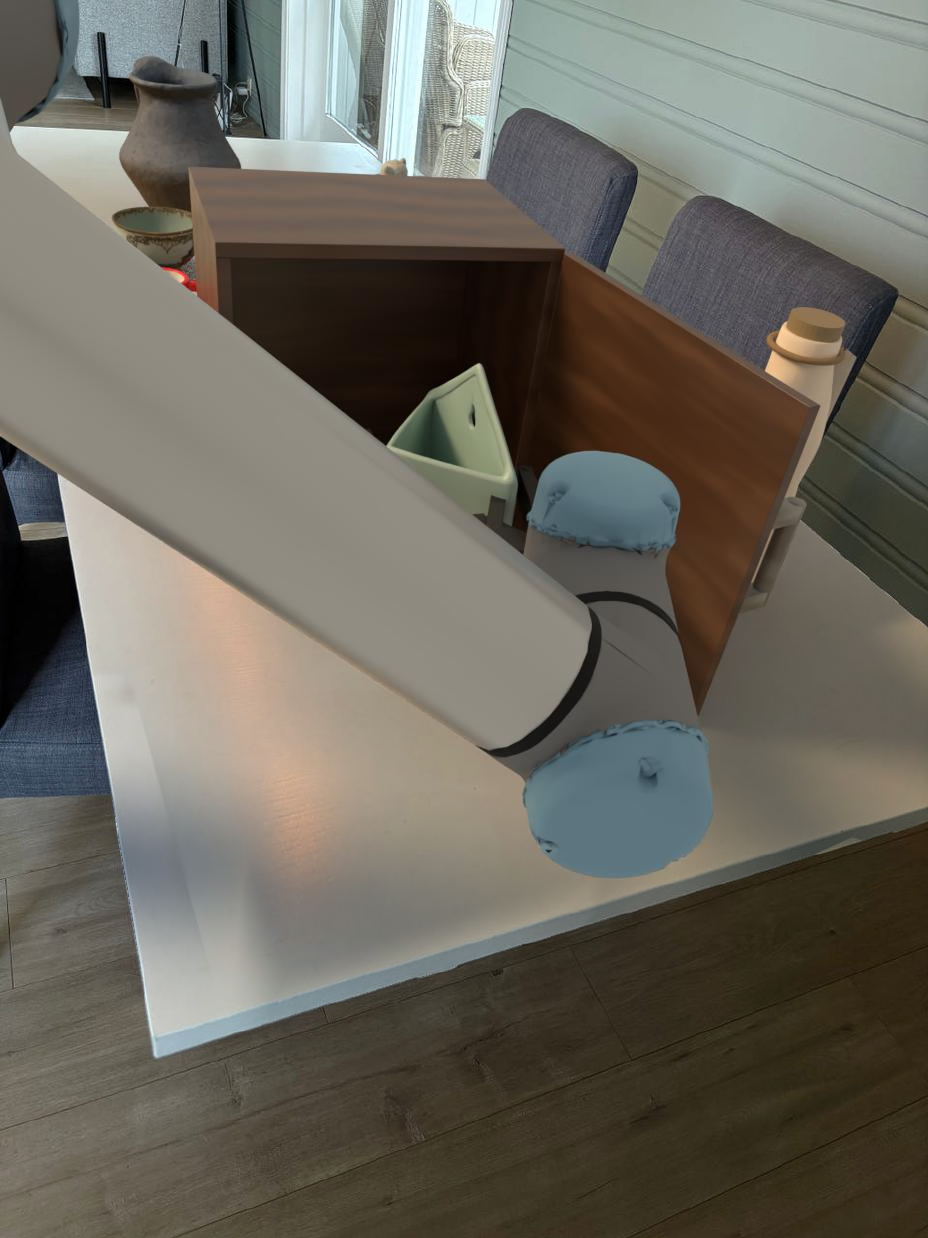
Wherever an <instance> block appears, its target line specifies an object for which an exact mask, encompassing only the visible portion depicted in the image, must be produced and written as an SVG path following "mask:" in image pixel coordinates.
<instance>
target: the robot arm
mask: <svg viewBox="0 0 928 1238" xmlns="http://www.w3.org/2000/svg"><path fill="white" fill-rule="evenodd" d="M79 38H80V3H79V0H0V437H1V438H2V439H3V440H5V441H7V442H8V443H9V444H12V445H13V446H15V447H16V448H17V449H19V450H20V451H22V452H24V454H27V455H28V456H29V457H31V458H32V459H35V460H36V461H37V462H39V463H40V464H42V465H43V466H45V467H46V468H48V469H50V470H51V471H53V472H54V473H56V474H57V475H59V476H61V477H62V478H64V479H65V480H66V481H68V482H70V483H71V484H73V485H74V486H76V487H77V488H79V489H80V490H82V491H84V492H85V493H87V494H88V495H90V496H91V497H93V498H94V499H96V500H97V501H99V502H100V503H102V504H103V505H105V506H106V507H108V508H110V509H111V510H113V511H115V512H116V513H118V514H119V515H121V516H122V517H124V518H125V519H126V520H128V521H130V522H132V523H133V524H134V525H136V526H137V527H139V528H140V529H142V530H143V531H145V532H147V533H148V534H150V535H151V536H153V537H154V538H156V539H157V540H158V541H160V542H162V543H163V544H165V545H166V546H168V547H170V548H171V549H173V550H174V551H176V552H177V553H179V554H180V555H182V556H184V557H185V558H186V559H188V560H190V561H191V562H192V563H194V564H196V565H197V566H198V567H200V568H202V569H204V570H205V571H206V572H208V573H210V575H213V576H214V577H215V578H217V579H219V580H220V581H222V582H223V583H225V584H227V586H228V585H229V586H230V587H231V588H232V589H234V590H236V591H237V592H239V593H240V594H242V595H243V596H244V597H246V598H248V599H250V600H251V601H252V602H254V603H256V604H257V605H258V606H260V607H262V608H263V609H265V610H267V611H268V612H270V613H271V614H273V615H274V616H276V618H278V619H280V620H281V621H283V622H284V623H287V624H288V625H289V626H291V627H292V628H294V629H295V630H297V631H299V632H300V633H301V634H303V635H305V636H307V637H308V638H310V639H311V640H313V641H314V642H315V643H317V644H319V645H320V646H321V647H323V648H325V649H326V650H328V651H329V652H330V653H333V654H334V655H335V656H337V657H339V658H340V659H341V660H343V661H344V662H346V663H348V664H349V665H351V666H353V667H354V668H356V669H357V670H358V671H360V672H361V673H363V674H365V675H366V676H368V677H369V678H371V679H372V680H374V681H376V682H377V683H378V684H380V685H382V686H383V687H384V688H386V689H387V690H389V691H390V692H392V693H394V694H395V695H396V696H399V697H400V698H401V699H403V700H405V701H406V702H407V703H409V704H411V705H413V706H414V707H415V708H417V709H418V710H420V711H421V712H423V713H424V714H426V715H428V716H429V717H431V718H432V719H434V720H435V721H436V722H438V723H440V724H442V725H443V726H445V727H446V728H448V730H451V731H452V732H454V733H455V734H457V735H458V736H460V737H461V738H462V739H464V740H466V741H468V742H469V743H471V744H472V745H474V746H475V747H476V748H478V749H479V750H481V751H483V752H484V753H486V754H487V755H489V756H490V757H491V758H492V759H494V760H495V761H497V762H498V763H500V764H501V765H502V766H504V767H505V768H507V769H508V770H511V771H512V772H514V773H515V774H517V775H518V776H519V777H520V778H522V780H523V782H524V787H523V790H522V794H521V795H522V804H523V807H524V808H525V810H526V816H527V820H528V821H527V823H528V826H529V830H530V833H531V835H532V837H533V839H534V840H535V842H536V844H538V845H539V847H540V848H539V849H540V850H541V852H542V853H543V854H544V855H545V856H546V857H547V858H549V859H550V860H551V861H552V862H554V863H555V864H557V865H559V866H561V867H562V868H564V869H566V870H568V871H570V872H573V873H576V874H580V875H584V876H588V877H592V878H598V879H599V878H600V879H628V878H637V877H641V876H646V875H651V874H653V873H655V872H659V871H661V870H664V869H665V868H667V866H668V865H670V864H671V863H673V862H678V861H679V860H680V859H681V858H686V857H687V856H689V854H691V853H692V852H693V851H694V850H695V849H696V848H697V847H698V846H699V845H700V843H701V842H702V841H703V839H704V838H705V837H706V834H707V832H708V831H709V829H710V827H711V824H712V821H713V815H714V796H713V795H714V794H713V787H712V781H711V774H710V766H709V758H708V757H709V754H710V747H709V745H710V744H709V741H708V739H707V737H706V735H704V732H703V731H702V729H701V727H700V726H701V725H700V721H699V716H697V712H696V708H695V703H694V699H693V695H692V691H691V686H690V682H689V678H688V674H687V669H686V665H685V661H684V657H683V652H682V648H681V644H680V638H679V633H678V628H677V624H676V619H675V615H674V610H673V605H672V601H671V596H670V592H669V588H668V583H667V579H666V575H665V566H666V559H667V555H668V553H669V551H670V549H671V547H672V546H673V545H674V544H675V541H676V535H675V530H676V525H677V520H678V515H679V511H680V497H679V494H678V491H677V489H676V487H675V486H674V484H673V483H672V481H671V480H670V479H669V478H668V477H667V476H666V475H665V474H663V473H662V472H661V471H659V470H658V469H656V468H655V467H653V466H651V465H650V464H648V463H646V462H644V461H641V460H639V459H636V458H633V457H630V456H627V455H623V454H619V453H610V452H600V451H582V452H576V453H571V454H568V455H565V456H562V457H560V458H558V459H556V460H555V461H553V462H552V463H550V464H549V465H548V466H547V468H546V469H545V470H544V471H543V473H542V474H541V477H540V479H539V483H538V481H537V479H536V476H535V473H534V471H533V468H532V467H530V466H528V465H521V466H519V469H518V470H517V469H514V470H515V473H516V477H517V481H518V488H517V496H516V500H517V503H518V506H519V509H520V512H521V515H522V518H523V521H524V524H525V527H526V530H527V533H525V532H523V531H521V530H519V529H517V528H514V527H512V526H510V525H508V524H506V523H504V522H503V517H504V510H505V501H506V500H505V499H502V498H498V497H495V496H492V495H491V497H490V503H489V509H488V515H487V516H485V515H484V513H480V514H471V513H470V512H468V511H467V510H466V509H465V508H463V507H462V506H461V505H460V504H458V503H457V502H456V501H454V500H453V499H452V498H451V497H449V496H448V495H447V494H446V493H444V492H443V491H442V490H441V489H439V488H438V487H437V486H436V485H434V484H433V483H432V482H431V481H429V480H428V479H427V478H426V477H424V476H423V475H422V474H420V473H419V472H418V471H417V470H415V469H414V468H413V467H412V466H410V465H409V464H408V463H407V462H405V461H404V460H403V459H402V458H400V457H399V456H398V455H397V454H395V453H394V452H393V451H392V450H390V449H389V448H388V447H386V446H385V445H384V444H383V443H381V442H380V441H379V440H378V439H376V438H375V437H374V436H373V434H372V432H371V430H370V429H364V428H363V427H361V426H360V425H359V424H358V423H356V422H355V421H354V420H352V419H351V418H350V417H349V416H347V415H346V414H345V413H344V412H342V411H341V410H340V409H339V408H337V407H336V406H335V405H334V404H332V403H331V402H330V401H329V400H327V399H326V398H325V397H324V396H322V395H321V394H320V393H318V392H317V391H316V390H315V389H313V388H312V387H311V386H310V385H308V384H307V383H306V382H305V381H303V380H302V379H301V378H300V377H298V376H297V375H296V374H295V373H293V372H292V371H291V370H290V369H288V368H287V367H286V366H284V365H283V364H282V363H281V362H279V361H278V360H277V359H276V358H274V357H273V356H272V355H271V354H269V353H268V352H267V351H266V350H264V349H263V348H262V347H261V346H259V345H258V344H257V343H256V342H254V341H253V340H252V339H250V338H249V337H248V336H247V335H245V334H244V333H243V332H242V331H240V330H239V329H238V328H237V327H235V326H234V325H233V324H232V323H230V322H229V321H228V320H227V319H225V318H224V317H223V316H222V315H220V314H219V313H218V312H216V311H215V310H214V309H213V308H211V307H210V306H209V305H208V304H206V303H205V302H204V301H203V300H201V299H200V298H199V297H198V296H197V294H195V293H194V292H191V291H190V290H189V289H188V288H186V287H185V286H184V285H182V284H181V283H180V282H179V281H177V280H176V279H175V278H174V277H172V276H171V275H170V274H169V273H167V272H166V271H165V270H164V269H162V268H161V267H160V266H159V265H157V264H156V263H155V262H153V261H152V260H151V259H150V258H148V257H147V256H146V255H145V254H143V253H142V252H141V251H140V250H138V249H137V248H136V247H135V246H133V245H132V244H131V243H130V242H128V241H127V240H126V239H125V238H123V237H122V236H121V235H119V234H118V233H117V232H116V230H115V229H113V228H112V227H111V226H110V225H109V224H107V223H106V222H104V221H103V219H101V218H100V217H98V216H97V215H96V214H94V213H93V212H92V211H90V210H89V209H88V208H87V207H85V206H84V205H83V204H82V203H81V202H80V201H78V200H77V199H75V198H74V197H73V196H72V195H70V194H69V193H68V192H67V191H66V190H65V189H63V188H62V187H60V186H59V185H58V184H57V183H56V182H54V180H51V179H50V178H49V177H48V176H47V175H46V174H44V173H43V172H41V170H39V169H38V168H37V167H35V166H34V165H33V164H31V163H30V162H29V161H28V160H27V159H25V158H24V157H22V156H21V155H20V154H19V153H18V150H16V147H15V146H14V143H13V139H12V135H11V131H12V130H13V129H14V127H15V126H16V125H17V124H20V123H24V122H26V121H28V120H30V119H33V118H34V117H36V116H38V115H40V114H41V113H42V112H44V111H45V110H46V107H47V105H48V104H49V103H51V102H52V101H53V100H54V99H55V98H56V97H57V95H58V94H59V92H60V89H61V88H62V86H64V84H65V81H66V80H67V78H68V76H69V74H70V72H71V70H72V67H73V65H74V61H75V59H76V55H77V51H78V45H79Z"/></svg>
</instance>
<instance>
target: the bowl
mask: <svg viewBox="0 0 928 1238" xmlns="http://www.w3.org/2000/svg"><path fill="white" fill-rule="evenodd" d="M111 220H112V222H113V224H114V228H115V229H114V230H115V231H116V232H117V233H118V234H119V235H121V236H122V237H123V238H125V239H126V240H127V241H128V242H130V243H131V244H132V245H133V246H135V247H136V248H137V249H138V250H140V251H141V252H142V253H143V254H145V255H146V256H147V257H148V258H150V259H151V260H152V261H153V262H155V263H156V264H157V265H159V266H160V267H164V268H171V269H176V270H179V271H181V272H182V270H183V267H185V266H186V265H187V264H188V263H189V262H191V260H192V259H193V258H195V257H194V242H193V227H192V213H191V212H188V211H185V210H180V209H175V208H167V207H149V206H134V207H129V208H124V209H121V210H118V211H115V213H113V214H112V215H111Z"/></svg>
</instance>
